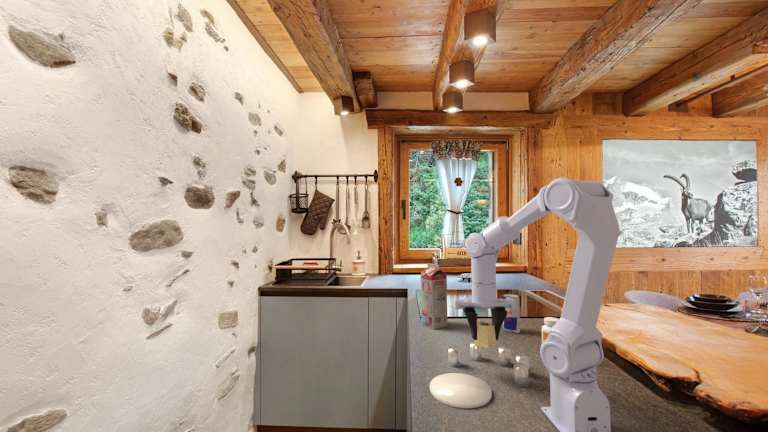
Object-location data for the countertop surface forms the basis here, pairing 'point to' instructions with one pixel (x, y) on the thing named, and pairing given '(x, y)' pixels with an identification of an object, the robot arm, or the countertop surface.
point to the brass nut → (485, 334)
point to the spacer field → (504, 360)
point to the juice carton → (433, 297)
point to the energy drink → (512, 316)
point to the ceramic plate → (460, 390)
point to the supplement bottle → (547, 326)
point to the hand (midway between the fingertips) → (484, 338)
